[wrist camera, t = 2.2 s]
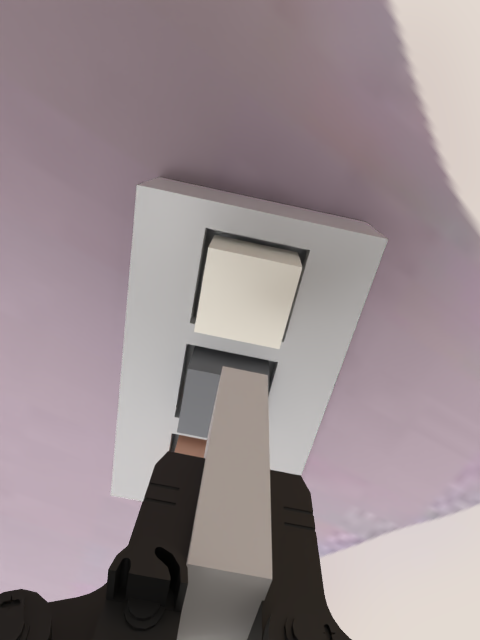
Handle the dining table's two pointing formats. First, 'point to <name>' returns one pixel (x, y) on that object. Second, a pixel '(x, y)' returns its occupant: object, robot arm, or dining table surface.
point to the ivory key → (247, 291)
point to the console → (180, 339)
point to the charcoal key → (209, 386)
